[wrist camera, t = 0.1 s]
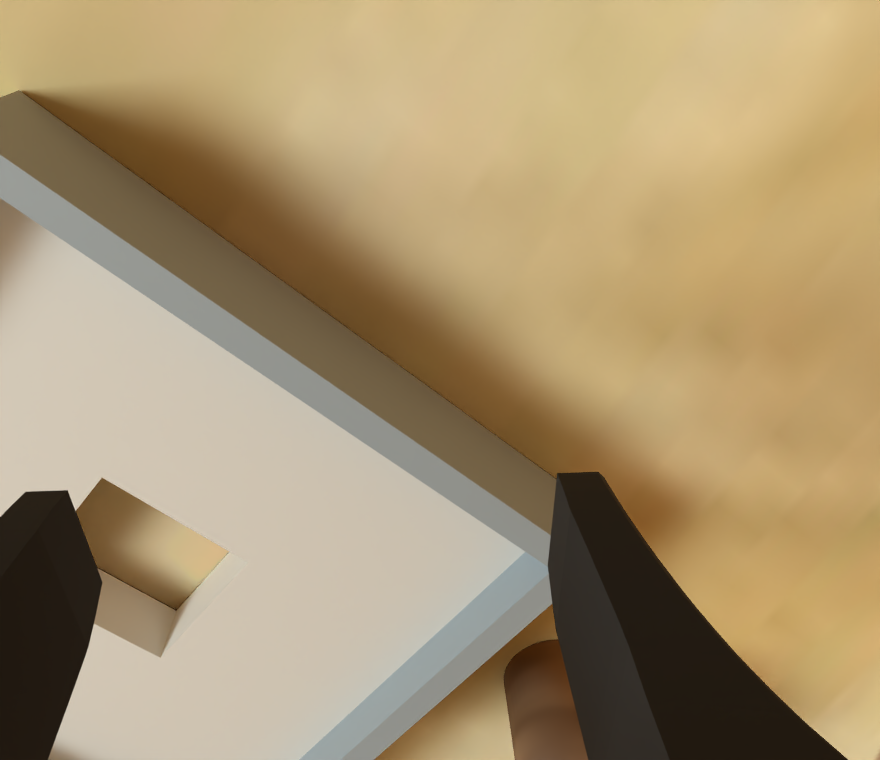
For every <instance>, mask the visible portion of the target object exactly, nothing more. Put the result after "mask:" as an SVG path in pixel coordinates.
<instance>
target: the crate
mask: <svg viewBox="0 0 880 760" xmlns="http://www.w3.org/2000/svg"><path fill="white" fill-rule="evenodd" d="M101 478H104V479H105V480H107V481H109V482H110V483H112V484H114V485H116V486H117V487H119V488H121V489H123V490H124V491H126V492H128V493H129V494H131V495H133V496H135V497H136V498H138V499H140V500H141V501H143V502H145V503H147V504H148V505H150V506H152V507H153V508H155V509H157V510H159V511H160V512H162V513H164V514H166V515H167V516H169V517H171V518H172V519H174V520H176V521H178V522H179V523H181V524H183V525H184V526H186V527H188V528H190V529H191V530H193V531H195V532H196V533H198V534H200V535H202V536H203V537H205V538H207V539H209V540H210V541H212V542H214V543H215V544H217V545H219V546H221V547H222V548H224V549H226V550H227V551H229V553H228V554H227V555H226V556H225V557H224V559H223V560H222V561H221V562H220V563H219V564H218V565H217V566H216V567H215V568H214V570H213V571H212V572H211V573H210V574H209V575H208V576H207V577H206V578H205V580H204V581H203V582H202V583H201V584H200V585H199V586H198V587H197V588H196V589H195V591H194V592H193V593H192V594H191V595H190V596H189V597H188V598H187V599H186V601H185V602H184V603H183V604H182V605H181V606H180V607H179V608H178V609H177V611H176V610H174V609H172V608H170V607H168V606H166V605H164V604H163V603H161V602H159V601H157V600H155V599H153V598H152V597H150V596H148V595H146V594H144V593H142V592H140V591H139V590H137V589H135V588H133V587H131V586H129V585H127V584H126V583H124V582H122V581H120V580H118V579H116V578H115V577H113V576H111V575H109V574H107V573H105V572H103V571H102V570H100V569H98V568H97V569H98V572H99V574H100V577H101V580H102V587H101V592H100V597H99V602H98V607H97V612H96V617H95V621H94V625H93V630H92V634H91V638H90V642H89V646H88V650H87V653H86V656H85V658H84V661H83V664H82V667H81V670H80V673H79V675H78V678H77V681H76V684H75V687H74V690H73V692H72V695H71V698H70V701H69V703H68V706H67V709H66V712H65V714H64V717H63V720H62V723H61V725H60V728H59V731H58V733H57V736H56V739H55V742H54V744H53V747H52V750H51V753H50V755H49V758H48V760H374V759H375V758H376V757H378V756H379V755H380V754H381V753H382V752H383V751H384V750H386V749H387V748H388V747H389V746H390V745H391V744H392V743H394V742H395V741H396V740H397V739H398V738H399V737H400V736H402V735H403V734H404V733H405V732H406V731H407V730H408V729H410V728H411V727H412V726H413V725H414V724H415V723H416V722H418V721H419V720H420V719H421V718H422V717H423V716H424V715H426V714H427V713H428V712H429V711H430V710H431V709H432V708H434V707H435V706H436V705H437V704H438V703H439V702H440V701H442V700H443V699H444V698H445V697H446V696H447V695H448V694H450V693H451V692H452V691H453V690H454V689H455V688H456V687H457V686H459V685H460V684H461V683H462V682H463V681H464V680H465V679H467V678H468V677H469V676H470V675H471V674H472V673H473V672H475V671H476V670H477V669H478V668H479V667H480V666H481V665H483V664H484V663H485V662H486V661H487V660H488V659H489V658H491V657H492V656H493V655H494V654H495V653H496V652H497V651H499V650H500V649H501V648H502V647H503V646H504V645H505V644H507V643H508V642H509V641H510V640H511V639H512V638H513V637H515V636H516V635H517V634H518V633H519V632H520V631H521V630H523V629H524V628H525V627H526V626H527V625H528V624H529V623H531V622H532V621H533V620H534V619H535V618H536V617H537V616H539V615H540V614H541V613H542V612H543V611H544V610H545V609H547V608H548V607H549V606H550V605H551V604H552V597H551V589H550V581H549V573H548V557H549V547H550V538H551V528H552V518H553V509H554V499H555V490H556V479H555V478H554V477H552V476H551V475H550V474H548V473H547V472H545V471H544V470H543V469H541V468H540V467H539V466H537V465H536V464H534V463H533V462H532V461H530V460H529V459H527V458H526V457H525V456H523V455H522V454H521V453H519V452H518V451H516V450H515V449H514V448H512V447H511V446H510V445H508V444H507V443H505V442H504V441H503V440H501V439H500V438H498V437H497V436H496V435H494V434H493V433H492V432H490V431H489V430H487V429H486V428H485V427H483V426H482V425H481V424H479V423H478V422H476V421H475V420H474V419H472V418H471V417H469V416H468V415H467V414H465V413H464V412H463V411H461V410H460V409H458V408H457V407H456V406H454V405H453V404H451V403H450V402H449V401H447V400H446V399H445V398H443V397H442V396H440V395H439V394H438V393H436V392H435V391H434V390H432V389H431V388H429V387H428V386H427V385H425V384H424V383H422V382H421V381H420V380H418V379H417V378H416V377H414V376H413V375H411V374H410V373H409V372H407V371H406V370H405V369H403V368H402V367H400V366H399V365H398V364H396V363H395V362H393V361H392V360H391V359H389V358H388V357H387V356H385V355H384V354H382V353H381V352H380V351H378V350H377V349H376V348H374V347H373V346H371V345H370V344H369V343H367V342H366V341H364V340H363V339H362V338H360V337H359V336H358V335H356V334H355V333H353V332H352V331H351V330H349V329H348V328H347V327H345V326H344V325H342V324H341V323H340V322H338V321H337V320H335V319H334V318H333V317H331V316H330V315H329V314H327V313H326V312H324V311H323V310H322V309H320V308H319V307H318V306H316V305H315V304H313V303H312V302H311V301H309V300H308V299H306V298H305V297H304V296H302V295H301V294H300V293H298V292H297V291H295V290H294V289H293V288H291V287H290V286H289V285H287V284H286V283H284V282H283V281H282V280H280V279H279V278H277V277H276V276H275V275H273V274H272V273H271V272H269V271H268V270H266V269H265V268H264V267H262V266H261V265H260V264H258V263H257V262H255V261H254V260H253V259H251V258H250V257H248V256H247V255H246V254H244V253H243V252H242V251H240V250H239V249H237V248H236V247H235V246H233V245H232V244H231V243H229V242H228V241H226V240H225V239H224V238H222V237H221V236H219V235H218V234H217V233H215V232H214V231H213V230H211V229H210V228H208V227H207V226H206V225H204V224H203V223H202V222H200V221H199V220H197V219H196V218H195V217H193V216H192V215H190V214H189V213H188V212H186V211H185V210H184V209H182V208H181V207H179V206H178V205H177V204H175V203H174V202H173V201H171V200H170V199H168V198H167V197H166V196H164V195H163V194H161V193H160V192H159V191H157V190H156V189H155V188H153V187H152V186H150V185H149V184H148V183H146V182H145V181H144V180H142V179H141V178H139V177H138V176H137V175H135V174H134V173H132V172H131V171H130V170H128V169H127V168H126V167H124V166H123V165H121V164H120V163H119V162H117V161H116V160H115V159H113V158H112V157H110V156H109V155H108V154H106V153H105V152H103V151H102V150H101V149H99V148H98V147H97V146H95V145H94V144H92V143H91V142H90V141H88V140H87V139H86V138H84V137H83V136H81V135H80V134H79V133H77V132H76V131H74V130H73V129H72V128H70V127H69V126H68V125H66V124H65V123H63V122H62V121H61V120H59V119H58V118H57V117H55V116H54V115H52V114H51V113H50V112H48V111H47V110H45V109H44V108H43V107H41V106H40V105H39V104H37V103H36V102H34V101H33V100H32V99H30V98H29V97H28V96H26V95H25V94H23V93H22V92H21V91H16V92H13V93H11V94H8V95H6V96H3V97H0V517H1V516H2V515H3V514H4V513H5V511H6V510H7V509H8V508H9V507H10V506H11V505H12V504H13V503H14V502H16V501H17V500H18V499H19V498H20V497H21V496H22V495H23V494H24V493H25V492H30V491H59V490H68V493H69V495H70V498H71V501H72V503H73V506H74V508H75V511H76V510H77V509H78V507H79V506H80V505H81V503H82V502H83V501H84V500H85V498H86V497H87V496H88V495H89V493H90V492H91V491H92V489H93V488H94V487H95V486H96V484H97V483H98V482H99V481H100V479H101Z"/></svg>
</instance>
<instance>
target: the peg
mask: <svg viewBox="0 0 880 760" xmlns="http://www.w3.org/2000/svg"><path fill="white" fill-rule="evenodd" d="M504 686H505V693H506V700H507V707H508V714H509V721H510V728H511V735H512V742H513V749H514V756H515V760H588V757H587V753H586V749H585V745H584V741H583V737H582V733H581V729H580V725H579V721H578V717H577V713H576V709H575V705H574V701H573V697H572V693H571V689H570V685H569V681H568V677H567V673H566V669H565V664H564V660H563V656H562V652H561V648H560V644H559V640H549V641H543V642H539V643H536V644H533V645H531V646H529V647H527V648H525V649H523V650H522V651H520V652H519V653H518V654H516V655H515V656H514V657H513V658H512V660H511V661H510V662H509V664H508V666H507V667H506V670H505V674H504Z"/></svg>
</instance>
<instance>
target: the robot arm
mask: <svg viewBox="0 0 880 760" xmlns="http://www.w3.org/2000/svg"><path fill="white" fill-rule="evenodd" d="M548 573H549V581H550V589H551V597H552V604H553V612H554V619H555V626H556V631H557V636H558V640H559V644H560V648H561V652H562V656H563V660H564V664H565V669H566V673H567V677H568V681H569V685H570V689H571V693H572V697H573V701H574V705H575V709H576V713H577V717H578V721H579V725H580V729H581V733H582V737H583V741H584V745H585V749H586V753H587V757H588V760H848V759H847V758H845V757H844V756H843V755H842V754H841V753H840V752H839V751H837V750H836V749H835V748H834V747H833V746H832V745H830V744H829V743H828V742H827V741H826V740H825V739H824V738H822V737H821V736H820V735H819V734H818V733H817V732H816V731H814V730H813V729H812V728H811V727H810V726H809V725H807V724H806V723H805V722H804V721H803V720H802V719H801V718H800V717H799V716H798V715H797V714H796V713H795V712H794V711H793V710H792V709H791V708H790V707H789V706H788V705H786V704H785V703H784V702H783V701H782V700H781V699H780V698H779V697H778V696H777V695H776V694H775V693H774V692H773V691H772V690H771V689H770V688H769V687H768V686H767V685H766V684H765V683H764V682H763V681H762V680H761V679H760V678H759V677H758V676H757V675H756V674H755V673H754V672H753V671H752V670H751V669H750V668H749V667H748V666H747V664H746V663H745V662H744V661H743V660H742V659H741V658H740V657H739V656H738V655H737V654H736V653H735V652H734V650H733V649H732V648H731V647H730V646H729V645H728V644H727V643H726V642H725V640H724V639H723V638H722V637H721V636H720V635H719V634H718V632H717V631H716V630H715V629H714V628H713V627H712V625H711V624H710V623H709V622H708V621H707V620H706V618H705V617H704V616H703V615H702V614H701V613H700V611H699V610H698V609H697V608H696V607H695V605H694V604H693V603H692V602H691V600H690V599H689V598H688V597H687V595H686V594H685V593H684V592H683V591H682V589H681V588H680V587H679V585H678V584H677V583H676V581H675V580H674V579H673V577H672V576H671V575H670V573H669V572H668V571H667V570H666V568H665V567H664V566H663V564H662V563H661V562H660V560H659V559H658V558H657V556H656V555H655V554H654V552H653V551H652V549H651V548H650V547H649V545H648V544H647V543H646V541H645V540H644V538H643V537H642V535H641V534H640V532H639V531H638V529H637V528H636V527H635V525H634V524H633V522H632V521H631V519H630V518H629V516H628V515H627V513H626V512H625V510H624V509H623V507H622V506H621V504H620V502H619V501H618V499H617V498H616V496H615V494H614V493H613V491H612V490H611V488H610V486H609V485H608V483H607V481H606V480H605V478H604V477H603V476H602V475H601V474H600V473H599V472H582V473H557V480H556V490H555V499H554V509H553V518H552V528H551V538H550V547H549V557H548ZM101 587H102V580H101V577H100V574H99V572H98V569H97V566H96V564H95V561H94V559H93V556H92V553H91V551H90V548H89V545H88V543H87V540H86V537H85V535H84V532H83V530H82V527H81V524H80V522H79V519H78V516H77V514H76V511H75V508H74V506H73V503H72V501H71V498H70V495H69V493H68V490H59V491H30V492H25V493H24V494H23V495H22V496H21V497H20V498H19V499H18V500H17V501H16V502H14V503H13V504H12V505H11V506H10V507H9V508H8V509H7V510H6V511H5V513H4V514H3V515H2V516H1V517H0V760H48V758H49V755H50V753H51V750H52V747H53V744H54V742H55V739H56V736H57V733H58V731H59V728H60V725H61V723H62V720H63V717H64V714H65V712H66V709H67V706H68V703H69V701H70V698H71V695H72V692H73V690H74V687H75V684H76V681H77V678H78V675H79V673H80V670H81V667H82V664H83V661H84V658H85V656H86V653H87V650H88V646H89V642H90V638H91V634H92V630H93V625H94V621H95V617H96V612H97V607H98V602H99V597H100V592H101Z"/></svg>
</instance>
